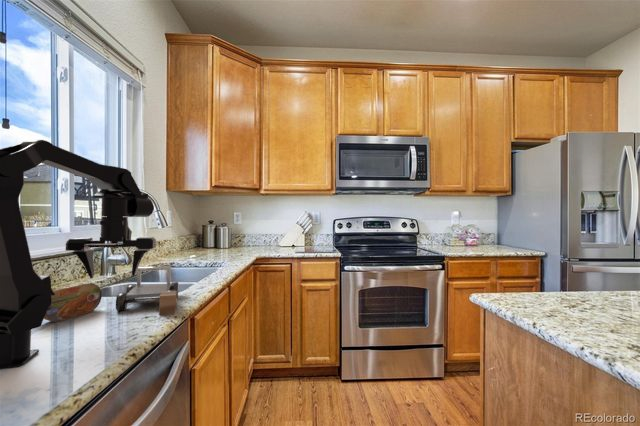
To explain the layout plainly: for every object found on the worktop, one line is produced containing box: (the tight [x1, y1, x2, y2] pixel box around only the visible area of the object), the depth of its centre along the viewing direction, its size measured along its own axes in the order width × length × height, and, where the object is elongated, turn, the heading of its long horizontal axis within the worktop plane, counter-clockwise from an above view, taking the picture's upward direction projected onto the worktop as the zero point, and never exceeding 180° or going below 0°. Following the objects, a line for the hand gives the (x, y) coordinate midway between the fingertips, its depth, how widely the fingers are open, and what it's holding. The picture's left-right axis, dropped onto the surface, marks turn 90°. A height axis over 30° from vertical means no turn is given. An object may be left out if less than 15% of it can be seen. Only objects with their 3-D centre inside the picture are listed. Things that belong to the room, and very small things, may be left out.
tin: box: [43, 282, 102, 323], centre depth 84 cm, size 15×3×8 cm, turn 164°
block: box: [158, 291, 178, 316], centre depth 89 cm, size 5×4×6 cm
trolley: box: [115, 265, 179, 312], centre depth 98 cm, size 17×15×11 cm
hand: (113, 276), depth 79 cm, fingers open, 9 cm apart
